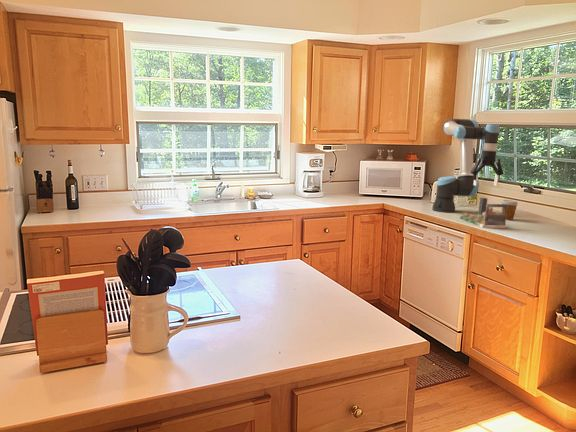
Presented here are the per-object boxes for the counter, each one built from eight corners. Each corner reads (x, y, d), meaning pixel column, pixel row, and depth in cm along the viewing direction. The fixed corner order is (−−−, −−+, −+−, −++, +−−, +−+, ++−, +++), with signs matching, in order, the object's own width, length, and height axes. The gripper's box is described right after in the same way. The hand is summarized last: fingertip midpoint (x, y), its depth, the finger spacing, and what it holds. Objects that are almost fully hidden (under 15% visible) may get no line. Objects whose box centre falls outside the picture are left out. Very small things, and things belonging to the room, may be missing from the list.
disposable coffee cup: (512, 218, 311) (514, 200, 309) (517, 221, 302) (520, 202, 299) (497, 217, 312) (499, 199, 310) (502, 220, 303) (504, 201, 300)
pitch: (459, 218, 304) (462, 197, 301) (482, 218, 306) (485, 197, 303) (482, 227, 278) (485, 204, 276) (507, 227, 281) (510, 204, 278)
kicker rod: (475, 218, 295) (478, 197, 292) (484, 218, 296) (486, 197, 293) (485, 222, 284) (488, 200, 282) (494, 222, 285) (497, 200, 283)
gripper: (473, 150, 280) (469, 186, 284) (512, 151, 284) (507, 186, 288) (467, 149, 287) (463, 184, 292) (505, 150, 291) (500, 185, 296)
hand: (485, 185), depth 290 cm, fingers open, 13 cm apart
